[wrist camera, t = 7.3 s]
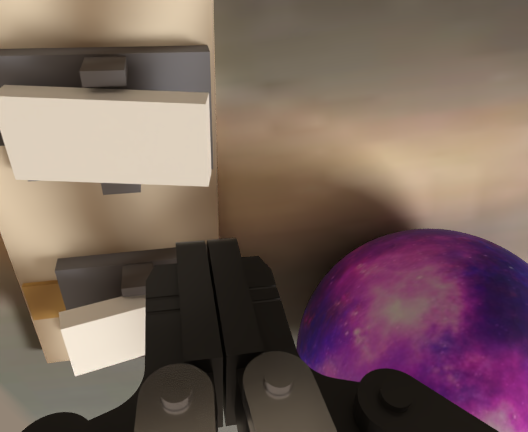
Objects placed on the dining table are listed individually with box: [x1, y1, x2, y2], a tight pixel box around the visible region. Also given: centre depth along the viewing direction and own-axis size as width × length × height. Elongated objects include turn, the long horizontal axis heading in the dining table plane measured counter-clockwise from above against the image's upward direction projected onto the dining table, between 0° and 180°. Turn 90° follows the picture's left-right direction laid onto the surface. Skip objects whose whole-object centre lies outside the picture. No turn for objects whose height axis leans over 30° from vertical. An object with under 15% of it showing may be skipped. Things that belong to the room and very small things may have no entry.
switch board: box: [0, 0, 219, 363], centre depth 20 cm, size 11×33×4 cm, turn 178°
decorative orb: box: [296, 229, 528, 432], centre depth 26 cm, size 15×15×15 cm
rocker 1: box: [0, 85, 211, 187], centre depth 19 cm, size 8×4×1 cm, turn 88°
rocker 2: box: [59, 295, 146, 376], centre depth 25 cm, size 8×4×1 cm, turn 88°
